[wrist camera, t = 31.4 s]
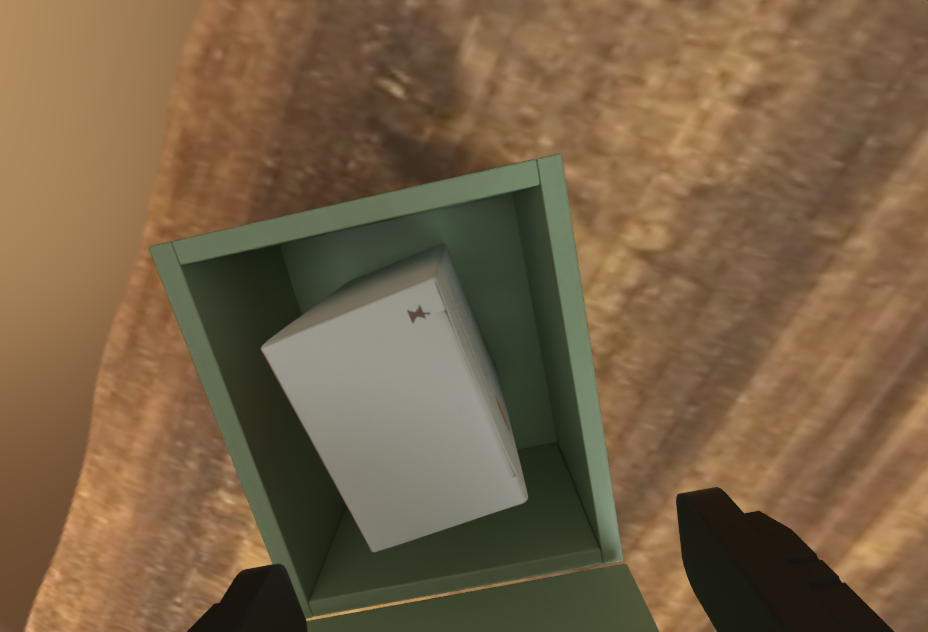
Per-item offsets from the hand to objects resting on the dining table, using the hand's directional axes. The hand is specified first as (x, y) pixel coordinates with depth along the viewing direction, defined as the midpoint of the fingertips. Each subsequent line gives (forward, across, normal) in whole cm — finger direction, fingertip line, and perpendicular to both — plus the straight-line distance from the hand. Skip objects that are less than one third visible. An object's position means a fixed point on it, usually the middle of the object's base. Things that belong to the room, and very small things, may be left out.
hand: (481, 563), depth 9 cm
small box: (+15, +2, -1) cm, 15 cm away
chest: (+16, +2, 0) cm, 16 cm away
